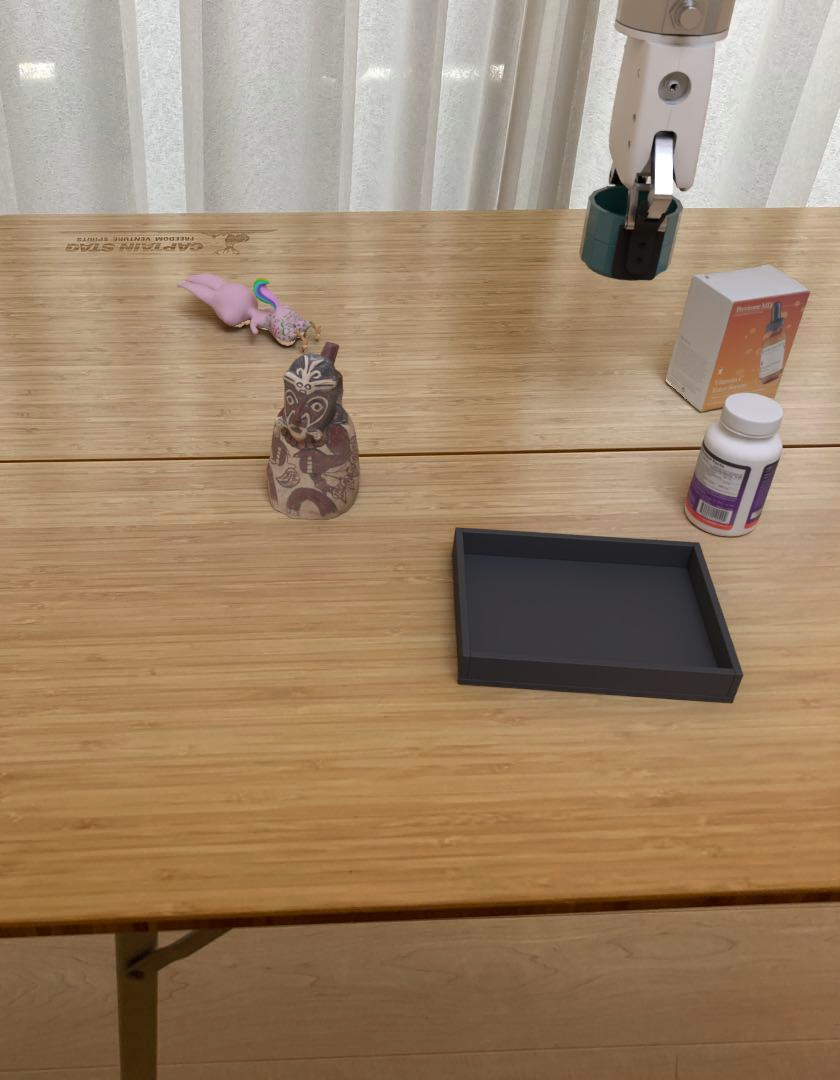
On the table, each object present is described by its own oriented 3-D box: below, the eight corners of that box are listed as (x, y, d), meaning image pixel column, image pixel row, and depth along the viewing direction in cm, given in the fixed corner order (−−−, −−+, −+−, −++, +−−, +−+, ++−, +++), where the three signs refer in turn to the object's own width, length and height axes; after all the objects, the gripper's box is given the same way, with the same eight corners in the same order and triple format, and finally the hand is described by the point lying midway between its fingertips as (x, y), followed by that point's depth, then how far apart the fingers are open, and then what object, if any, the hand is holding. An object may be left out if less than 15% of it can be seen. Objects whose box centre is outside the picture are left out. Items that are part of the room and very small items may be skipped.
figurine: (246, 496, 85) (245, 357, 77) (302, 455, 89) (306, 320, 82) (322, 532, 81) (328, 390, 74) (376, 488, 86) (387, 350, 79)
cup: (660, 248, 89) (673, 187, 86) (675, 285, 83) (690, 221, 80) (574, 244, 89) (584, 183, 86) (583, 281, 84) (595, 217, 81)
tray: (691, 569, 79) (699, 542, 78) (733, 703, 69) (743, 675, 67) (451, 554, 80) (455, 526, 78) (458, 684, 70) (462, 655, 68)
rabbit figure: (326, 346, 106) (197, 285, 111) (337, 292, 102) (204, 230, 106) (292, 373, 102) (160, 309, 106) (303, 318, 98) (165, 253, 102)
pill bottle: (735, 493, 86) (771, 384, 80) (770, 535, 82) (810, 424, 76) (670, 498, 86) (701, 389, 80) (702, 542, 82) (737, 430, 76)
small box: (699, 414, 96) (731, 302, 89) (662, 382, 100) (690, 273, 93) (776, 400, 98) (813, 289, 91) (737, 369, 102) (770, 261, 95)
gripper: (762, 43, 68) (695, 310, 79) (706, -20, 81) (655, 215, 92) (637, 39, 68) (588, 305, 79) (602, -23, 82) (564, 211, 93)
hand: (625, 255), depth 86 cm, fingers closed on cup, 6 cm apart
